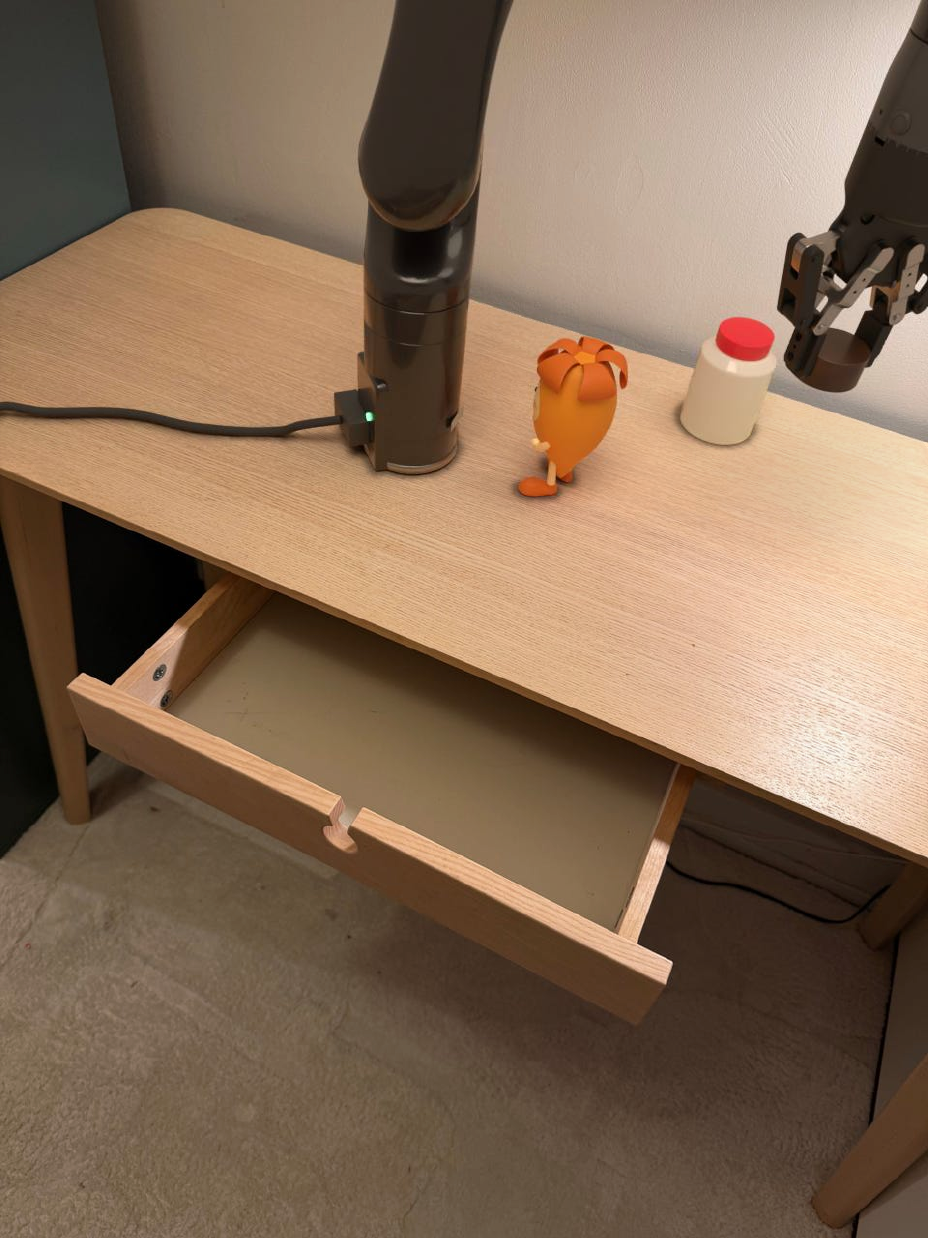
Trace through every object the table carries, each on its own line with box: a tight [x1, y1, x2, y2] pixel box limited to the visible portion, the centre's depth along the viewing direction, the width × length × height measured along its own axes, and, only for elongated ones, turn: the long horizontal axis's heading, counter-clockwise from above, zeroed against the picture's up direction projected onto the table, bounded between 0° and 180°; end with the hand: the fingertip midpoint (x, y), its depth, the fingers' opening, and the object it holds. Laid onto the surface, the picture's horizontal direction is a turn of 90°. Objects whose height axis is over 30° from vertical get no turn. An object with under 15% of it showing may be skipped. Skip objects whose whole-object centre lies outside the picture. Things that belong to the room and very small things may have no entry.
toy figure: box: [518, 335, 629, 497], centre depth 83 cm, size 12×8×15 cm, turn 143°
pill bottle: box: [679, 316, 778, 446], centre depth 94 cm, size 8×8×11 cm
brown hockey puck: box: [797, 326, 871, 394], centre depth 67 cm, size 5×5×2 cm
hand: (826, 366), depth 68 cm, fingers closed on brown hockey puck, 5 cm apart
